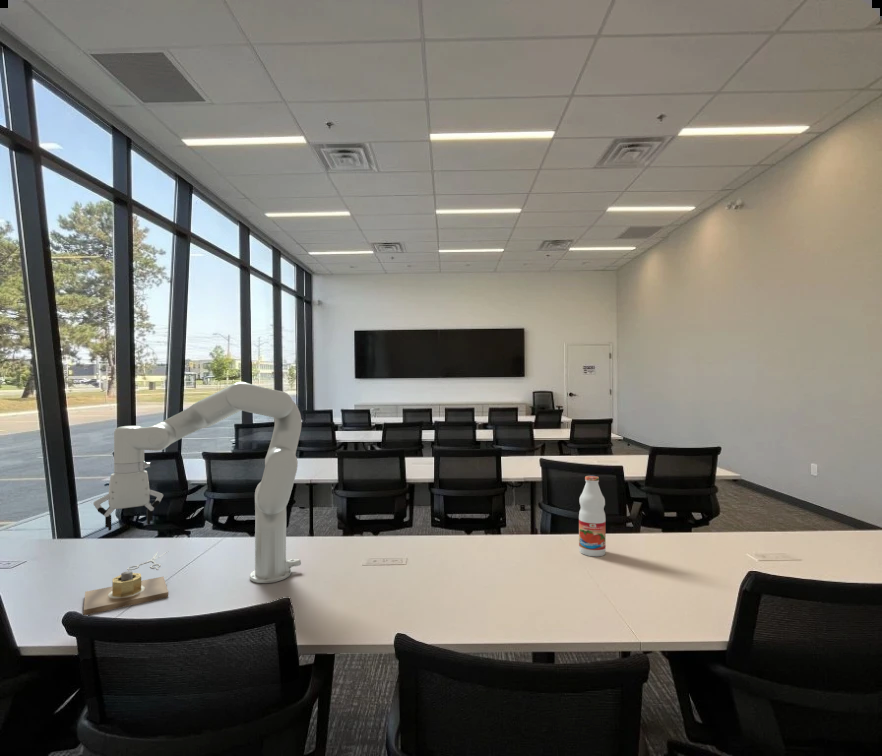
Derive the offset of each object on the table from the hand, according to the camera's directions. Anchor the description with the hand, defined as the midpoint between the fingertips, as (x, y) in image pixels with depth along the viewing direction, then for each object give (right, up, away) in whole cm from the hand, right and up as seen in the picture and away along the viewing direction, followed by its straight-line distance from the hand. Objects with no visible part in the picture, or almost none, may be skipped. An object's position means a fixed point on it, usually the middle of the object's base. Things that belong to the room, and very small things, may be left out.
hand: (129, 526), depth 144 cm
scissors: (-10, -21, +29) cm, 37 cm away
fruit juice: (+147, -21, +37) cm, 154 cm away
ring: (0, -19, -1) cm, 19 cm away
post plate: (0, -20, -1) cm, 20 cm away
